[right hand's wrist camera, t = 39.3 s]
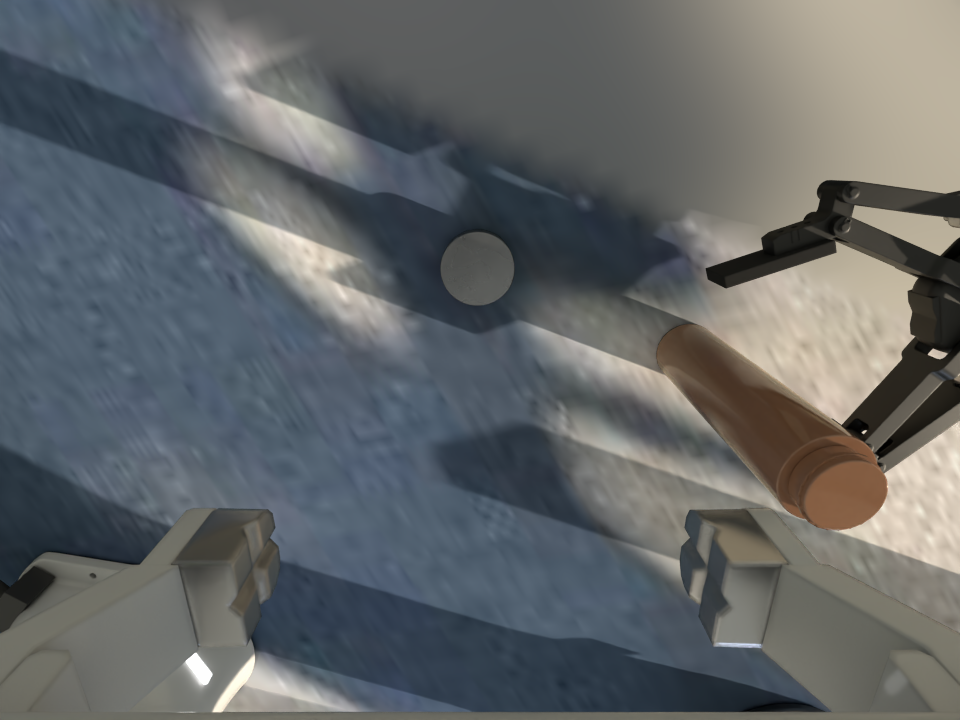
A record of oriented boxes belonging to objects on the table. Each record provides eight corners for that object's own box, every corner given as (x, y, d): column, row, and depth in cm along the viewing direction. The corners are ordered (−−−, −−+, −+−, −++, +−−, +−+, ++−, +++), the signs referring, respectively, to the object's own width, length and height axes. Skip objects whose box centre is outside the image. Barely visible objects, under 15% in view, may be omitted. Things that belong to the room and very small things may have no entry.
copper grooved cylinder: (644, 350, 41) (772, 494, 23) (693, 311, 40) (867, 430, 22) (678, 390, 42) (826, 556, 24) (727, 353, 41) (919, 499, 23)
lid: (429, 278, 39) (427, 283, 38) (463, 215, 38) (463, 217, 36) (490, 312, 40) (490, 318, 39) (526, 252, 38) (528, 255, 37)
